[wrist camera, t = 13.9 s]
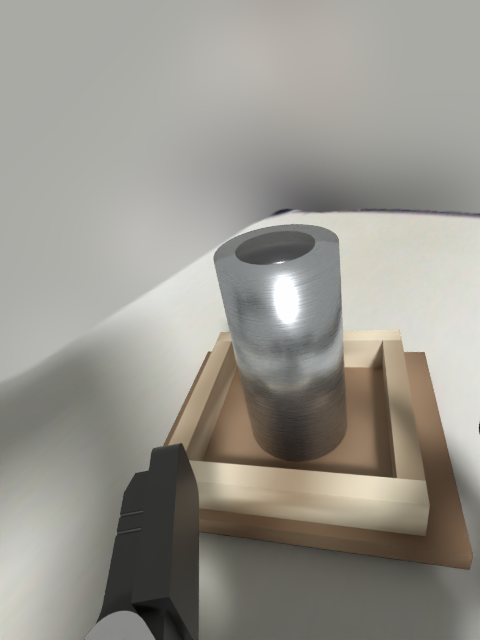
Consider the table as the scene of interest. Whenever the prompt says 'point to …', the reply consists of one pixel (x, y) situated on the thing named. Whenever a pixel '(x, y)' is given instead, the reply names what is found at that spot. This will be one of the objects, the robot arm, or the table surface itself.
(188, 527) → the robot arm
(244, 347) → the steel tube
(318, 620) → the table surface
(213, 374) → the wooden tray
